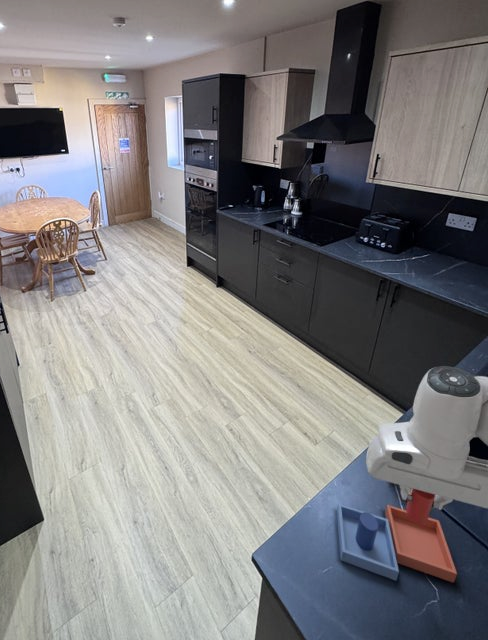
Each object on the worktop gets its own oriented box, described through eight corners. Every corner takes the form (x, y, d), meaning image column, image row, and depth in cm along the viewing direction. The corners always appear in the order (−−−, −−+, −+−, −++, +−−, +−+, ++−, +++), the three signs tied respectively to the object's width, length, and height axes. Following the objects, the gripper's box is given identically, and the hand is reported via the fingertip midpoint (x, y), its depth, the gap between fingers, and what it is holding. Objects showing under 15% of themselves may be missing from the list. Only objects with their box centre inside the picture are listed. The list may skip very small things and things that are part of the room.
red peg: (424, 507, 66) (431, 482, 63) (430, 526, 62) (437, 501, 60) (403, 501, 67) (409, 477, 65) (408, 520, 64) (415, 495, 61)
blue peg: (371, 535, 75) (376, 515, 72) (374, 553, 71) (379, 533, 69) (354, 529, 76) (359, 509, 74) (356, 547, 73) (361, 527, 70)
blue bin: (385, 527, 77) (387, 519, 76) (396, 581, 68) (399, 572, 67) (336, 511, 80) (338, 503, 79) (340, 560, 71) (342, 551, 70)
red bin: (436, 529, 76) (439, 520, 75) (453, 583, 67) (457, 574, 66) (384, 512, 80) (387, 504, 79) (395, 562, 70) (397, 553, 70)
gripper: (495, 449, 59) (476, 501, 63) (369, 421, 65) (360, 471, 70) (515, 483, 53) (493, 538, 57) (376, 449, 60) (365, 501, 64)
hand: (419, 501), depth 64 cm, fingers closed on red peg, 3 cm apart
